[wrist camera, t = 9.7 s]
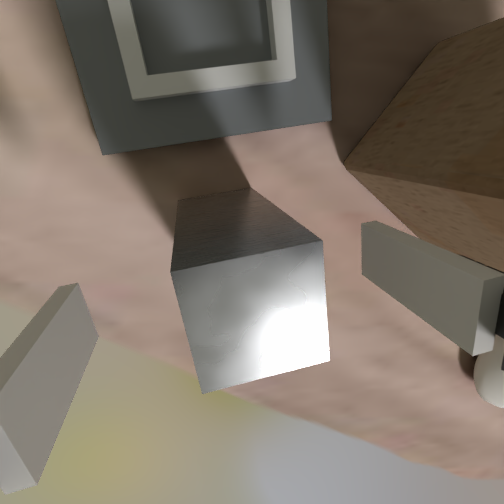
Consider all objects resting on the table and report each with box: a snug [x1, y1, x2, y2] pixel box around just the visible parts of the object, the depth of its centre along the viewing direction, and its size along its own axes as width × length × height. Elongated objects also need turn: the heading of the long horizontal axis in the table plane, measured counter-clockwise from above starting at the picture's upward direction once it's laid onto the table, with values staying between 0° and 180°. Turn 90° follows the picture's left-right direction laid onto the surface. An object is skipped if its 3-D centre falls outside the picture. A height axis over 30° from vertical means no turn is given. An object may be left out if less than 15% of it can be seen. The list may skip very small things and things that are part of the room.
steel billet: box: [170, 188, 330, 394], centre depth 16 cm, size 5×5×12 cm
